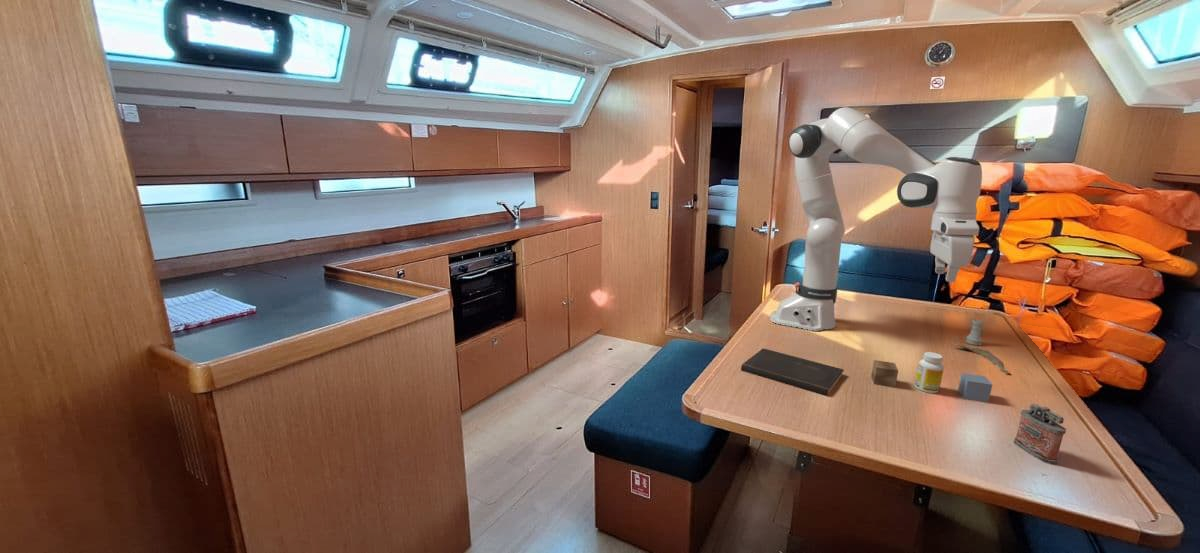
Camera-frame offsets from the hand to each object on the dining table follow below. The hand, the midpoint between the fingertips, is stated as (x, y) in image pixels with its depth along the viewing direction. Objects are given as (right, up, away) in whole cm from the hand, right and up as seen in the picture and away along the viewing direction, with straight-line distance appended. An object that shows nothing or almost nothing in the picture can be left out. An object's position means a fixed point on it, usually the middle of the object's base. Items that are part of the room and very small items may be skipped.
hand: (944, 277), depth 122 cm
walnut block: (-12, -28, +6) cm, 31 cm away
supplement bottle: (-3, -30, +2) cm, 30 cm away
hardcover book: (-35, -28, +11) cm, 46 cm away
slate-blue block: (+6, -30, -1) cm, 31 cm away
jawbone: (+26, -26, +21) cm, 42 cm away
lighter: (+1, -36, -24) cm, 44 cm away
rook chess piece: (+34, -22, +34) cm, 53 cm away
